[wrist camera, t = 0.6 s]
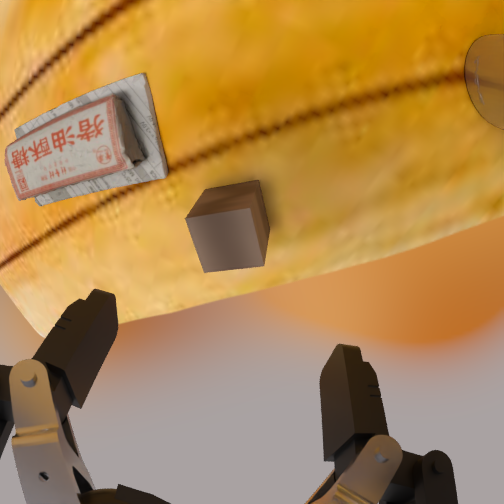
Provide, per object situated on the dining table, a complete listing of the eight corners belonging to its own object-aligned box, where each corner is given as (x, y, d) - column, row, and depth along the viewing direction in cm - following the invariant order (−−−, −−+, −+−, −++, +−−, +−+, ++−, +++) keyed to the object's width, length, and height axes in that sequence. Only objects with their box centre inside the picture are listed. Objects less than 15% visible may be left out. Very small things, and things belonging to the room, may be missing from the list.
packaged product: (20, 221, 27) (-8, 139, 22) (44, 202, 32) (20, 126, 26) (152, 192, 24) (122, 73, 19) (173, 172, 28) (149, 71, 23)
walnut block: (258, 179, 27) (250, 207, 22) (269, 229, 30) (264, 266, 25) (205, 189, 28) (185, 218, 23) (219, 236, 31) (204, 272, 26)
